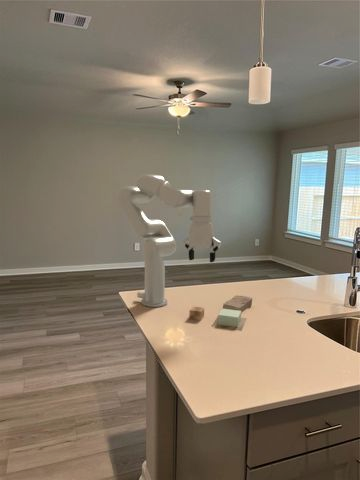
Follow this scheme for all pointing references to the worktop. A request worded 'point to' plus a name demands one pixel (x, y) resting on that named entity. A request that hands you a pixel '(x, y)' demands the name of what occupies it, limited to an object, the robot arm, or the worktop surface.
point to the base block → (229, 317)
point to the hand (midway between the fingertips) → (201, 260)
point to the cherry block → (196, 313)
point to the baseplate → (230, 326)
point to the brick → (238, 303)
